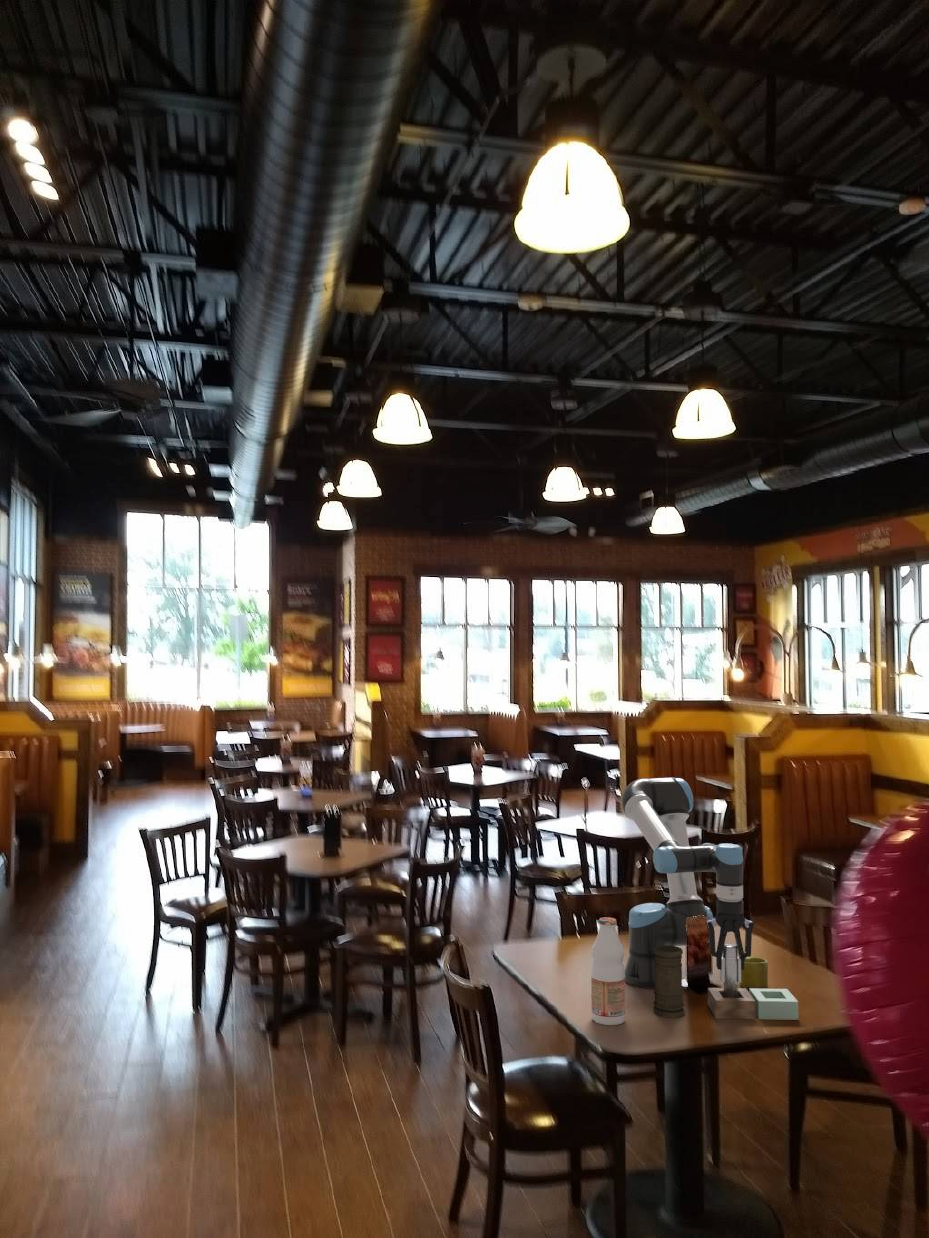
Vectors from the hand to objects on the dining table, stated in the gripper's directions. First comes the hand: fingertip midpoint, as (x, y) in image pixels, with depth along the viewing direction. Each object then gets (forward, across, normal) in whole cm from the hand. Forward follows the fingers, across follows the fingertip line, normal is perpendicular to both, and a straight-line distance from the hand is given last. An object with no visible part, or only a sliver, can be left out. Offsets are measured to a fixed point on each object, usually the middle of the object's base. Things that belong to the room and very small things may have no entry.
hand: (730, 980), depth 282 cm
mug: (+9, +12, +25) cm, 29 cm away
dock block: (+9, +12, 0) cm, 15 cm away
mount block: (+9, 0, 0) cm, 9 cm away
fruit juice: (+9, -36, -8) cm, 38 cm away
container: (+9, -18, -1) cm, 20 cm away
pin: (+7, 0, 0) cm, 7 cm away
